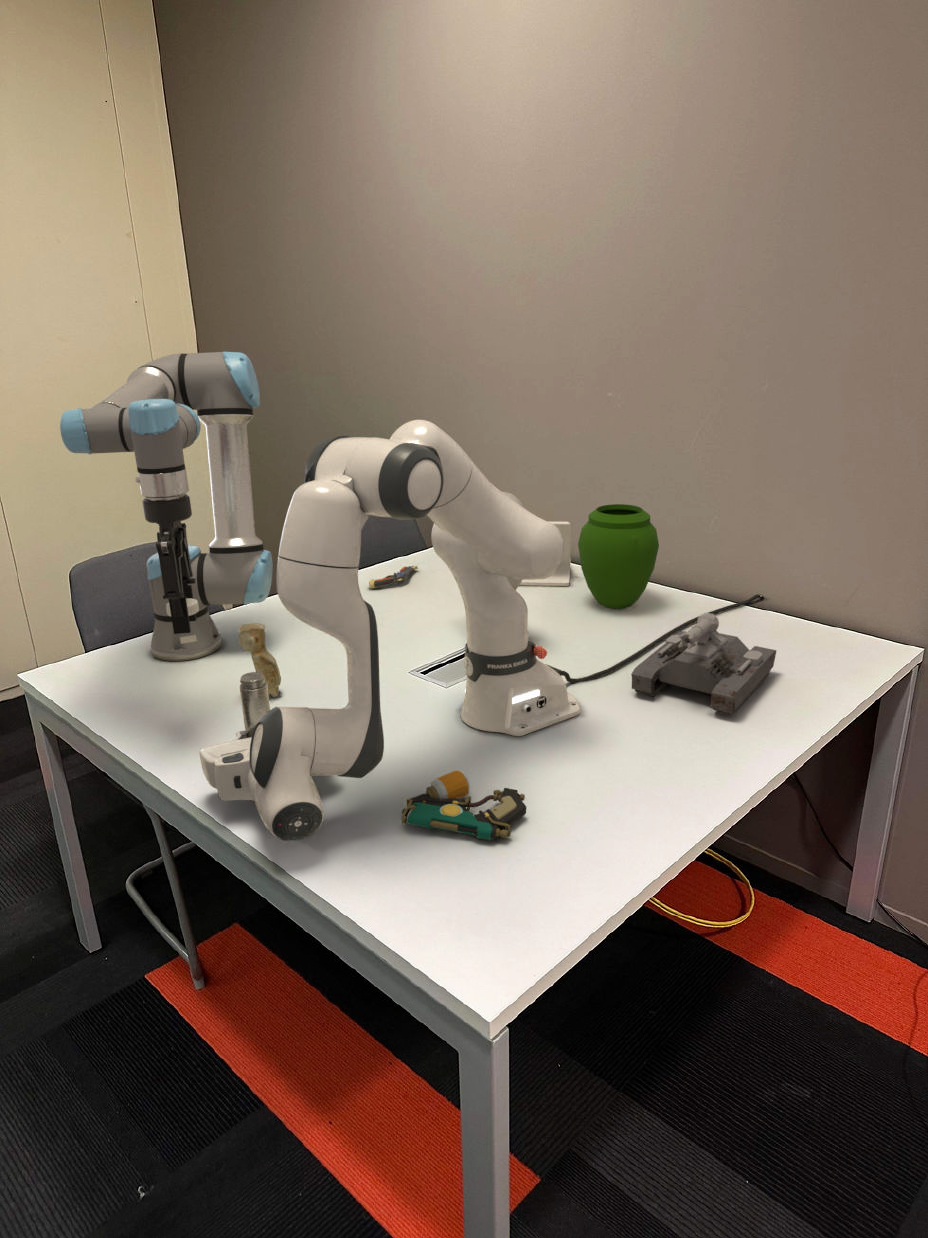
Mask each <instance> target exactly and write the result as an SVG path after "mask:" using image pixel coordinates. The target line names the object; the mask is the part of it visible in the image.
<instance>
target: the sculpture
mask: <svg viewBox="0 0 928 1238" xmlns="http://www.w3.org/2000/svg"><path fill="white" fill-rule="evenodd" d="M265 628H266V627H265V624H264V623H258V622H254V623H246V624H241V625H240V626H239V627H238V639H239V641H238V645H239V647H242V648H243V651H244V652H245V653H246V652H247V653H250V655H251V661H252V663H253V667H254V670H255V671H254V672H260V673H263V674H264V675H265V681H266V682H267V687H268V695H270V696H271V697H272V698H274V697H277V696H278V695H279V690H280V686H281V684H282V676H281V672H280V668H279V666H278V662H277V659H276V658H275V657H274V655H273V654H272V653H271V652H269V651H268V649H267V646H266V631H265Z"/></svg>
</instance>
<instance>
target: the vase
mask: <svg viewBox="0 0 928 1238" xmlns="http://www.w3.org/2000/svg"><path fill="white" fill-rule="evenodd" d="M587 516H588V517H587V518H588V521H587V522H586V523H585V524H584V525H583V526H582V527H581V529H580V534H579V538H578V541H577V546H578V554H579V562H580V569H581V571H582V574H583V577H584V580H585V583H586V585H587V588H588V590H589V591H590V594H592V597H593V598H594V600H595V601H596V602H597V603H598V604H599V605H600V606H602V607H604V608H606V609H609V610H625V609H628V608H630V607H632V606H634V604H636V602H638V601H639V599H640V597H641V596H642V595H643V593H644V592H645V590H646V588H647V586H648V584H649V581H650V579H651V577H652V574H653V572H654V570H655V566H656V562H657V557H658V552H659V548H660V544H659V543H660V542H659V537H658V531H657V528H656V527H655V526H654V524H653V523H652V522H651V515H650V514H649V512H647V511H645V510H644V509H643V508H642V507H641V506H638V505H633V504H622V503H621V504H619V503H616V504H615V503H614V504H604V505H601V506H598V507H597V508H595V509H594V510H592V511H591V512H590V513H589V514H588V515H587Z"/></svg>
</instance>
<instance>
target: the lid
mask: <svg viewBox="0 0 928 1238" xmlns="http://www.w3.org/2000/svg"><path fill="white" fill-rule="evenodd" d="M186 602H187V608H188V615H189V616H190V615H193V614H196V613H197V612H198V611H199V605H198V601H197V600H196V599H191V598H186ZM166 611H167V614H168V616H171V611H170V605H169V602H168V603H167V604H166Z"/></svg>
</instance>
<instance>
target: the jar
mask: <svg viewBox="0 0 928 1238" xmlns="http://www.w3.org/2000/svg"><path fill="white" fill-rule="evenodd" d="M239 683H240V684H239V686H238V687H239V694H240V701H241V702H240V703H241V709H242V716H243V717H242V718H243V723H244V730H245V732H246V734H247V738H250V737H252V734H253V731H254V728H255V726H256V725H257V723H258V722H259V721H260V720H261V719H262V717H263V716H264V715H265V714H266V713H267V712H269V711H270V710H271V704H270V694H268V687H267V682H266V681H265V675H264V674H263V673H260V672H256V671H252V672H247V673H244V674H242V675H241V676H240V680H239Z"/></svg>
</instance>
